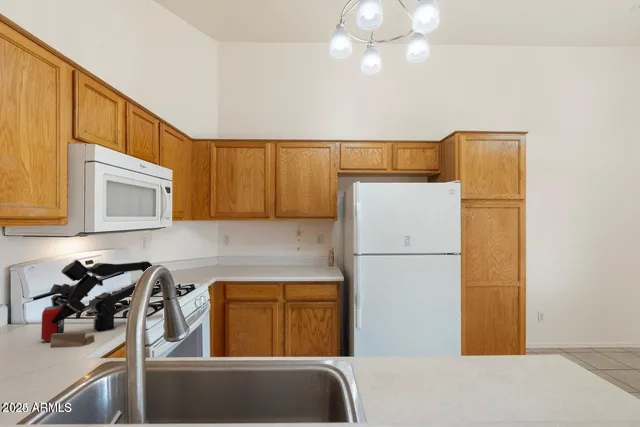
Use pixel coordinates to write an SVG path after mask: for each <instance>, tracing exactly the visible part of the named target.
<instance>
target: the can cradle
mask: <svg viewBox="0 0 640 427" xmlns="http://www.w3.org/2000/svg"><path fill="white" fill-rule="evenodd" d="M94 342H95V334H90V335H87V336H86V332H64V333H54V334H51V341H50V348H72V347H73V348H75V347H84V346H87V345H90V344H92V343H94Z"/></svg>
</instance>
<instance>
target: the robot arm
mask: <svg viewBox="0 0 640 427" xmlns="http://www.w3.org/2000/svg"><path fill="white" fill-rule="evenodd" d="M152 265H153V264H152V263H151V262H149V261H146V260H145V261H138V262H126V263H105V262H97V263H94V265H92V266H89V267H88V266H87V267H86V266H85V265H84V264H82V262H81V261H80V260H78V259H75V260H74V261H72V262H70V263H69V264H68V265H66V266H64V267H63V269H62V270H61V273H62V274H63V275H65V277H67V278H68V279H69V280H71V281H72V282H76V281H77V283H76V284H74V285H71V286H70V284H67V283H63V284H56V283H55V284H53V286H52V287H51V289H50V291H49V292H50V293H51V294H52V293H54V295H53V296H52V297H51V298H50V301H51V302H50V303H51V306H62V309H61V310H60V311H59V313H58V314H57V315H56V316H55V318H54V319H53V320H52V322H51V323H53V324H55V323H57V322H59V321H61V320H62V319H64V320H65V319H66V318H68V317H71V316H73V315H75V314H77V313H78V312H79V313H82V312H83V311H84V310H85V308H86V304H85V303H83V302H82V300H83V299H84V298H87V297H88V296H89V293H90V292H91V291H92V290H93V289H94V288H95V287H96V286H100V287H101V286H102V287H103V286H104V280H103V279H102V278H105V277H108V276H113V275H115V274H118V273H124V272H125V273H126V272H136V271H142V272H144V271H145V270H146V269H147V268H148V267H150V266H152ZM91 274H92V275H91ZM98 277H99V278H98ZM100 277H101V278H100ZM136 283H137V281H135V282H134V283H131V284H129V285H127V286H125V287H123V288H120V289H118V290H117V291H115V292H113V293H111V292H107V291H105V292H102V293H101V294H98V295H97V296H95V295H94V298H92V299H91V300H90V302H89V305H88V306H89V309H90V310H91V311H93V313H94V315H95V316H94V317H95V318H94V319H93V330H94V331H95V332H97V333H98V332H104V331H110V330H115V329H116V326H115V325H114V324H115V315H116V313H117V310H118V309H117V308H116V307H115V305H116V304H117V303H118V302H120V301H123V300H124V299H126V298H128V297H130V296H132V295H133V294H132V293H133V290H134V288H135V285H136ZM156 285H159V281H157V283H156ZM156 285H155V286H156Z"/></svg>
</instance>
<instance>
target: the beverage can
mask: <svg viewBox="0 0 640 427" xmlns="http://www.w3.org/2000/svg"><path fill="white" fill-rule="evenodd" d="M61 309H62V306H52V305H50V306H46V307H44V310H42V313H41V340H42V341H46V342H47V341H48V342H49V341H50V342H51V334H54V333H65V318H64V319H62V320H61V321H59V322H57V323H55V324H53V323H51V322H52V320H53V319H54V318H55V316H56V315H57V314H58V313H59V311H60V310H61Z"/></svg>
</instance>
